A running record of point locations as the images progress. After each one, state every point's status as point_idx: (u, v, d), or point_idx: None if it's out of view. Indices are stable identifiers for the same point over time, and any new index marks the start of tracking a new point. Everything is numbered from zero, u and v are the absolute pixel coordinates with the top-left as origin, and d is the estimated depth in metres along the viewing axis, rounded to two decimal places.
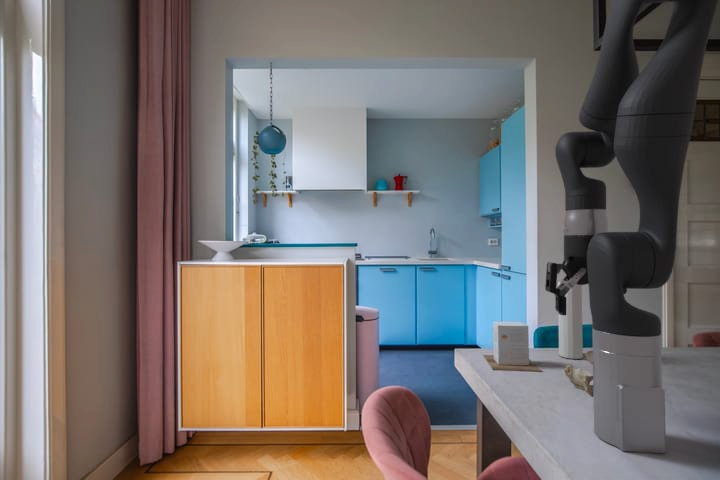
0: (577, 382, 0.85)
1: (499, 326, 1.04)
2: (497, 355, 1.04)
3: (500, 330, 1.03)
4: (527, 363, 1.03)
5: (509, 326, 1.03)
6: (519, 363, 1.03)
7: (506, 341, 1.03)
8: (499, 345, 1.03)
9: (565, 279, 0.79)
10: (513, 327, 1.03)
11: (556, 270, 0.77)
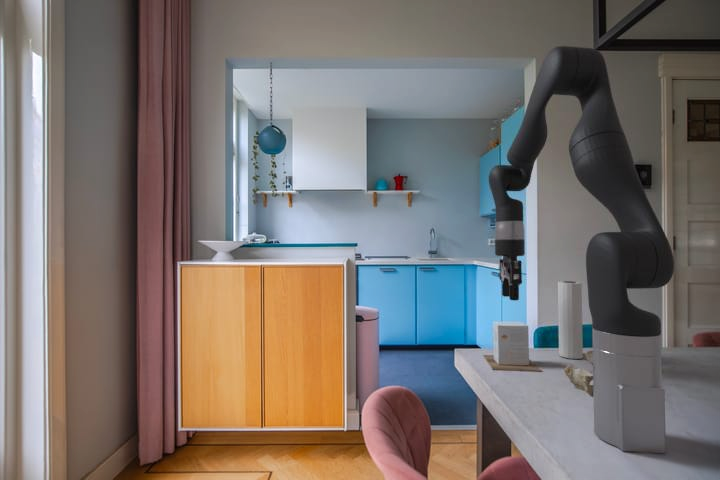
0: (577, 382, 0.85)
1: (499, 326, 1.04)
2: (497, 355, 1.04)
3: (500, 330, 1.03)
4: (527, 363, 1.03)
5: (509, 326, 1.03)
6: (519, 363, 1.03)
7: (506, 341, 1.03)
8: (499, 345, 1.03)
9: None
10: (513, 327, 1.03)
11: None
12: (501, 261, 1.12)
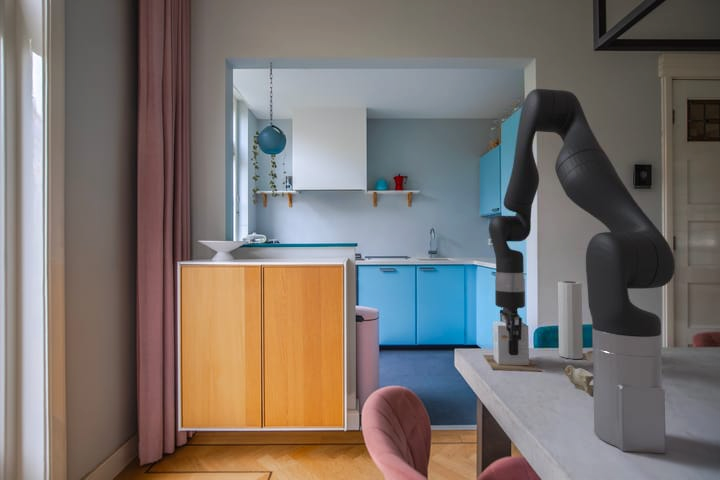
0: (577, 382, 0.85)
1: (499, 326, 1.04)
2: (497, 355, 1.04)
3: (500, 330, 1.03)
4: (527, 363, 1.03)
5: (509, 326, 1.03)
6: (519, 363, 1.03)
7: (506, 341, 1.03)
8: (499, 345, 1.03)
9: None
10: None
11: None
12: (501, 312, 1.12)
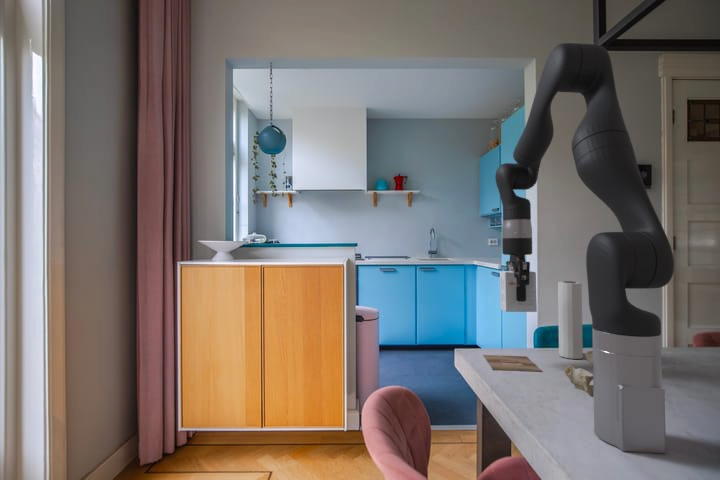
0: (577, 382, 0.85)
1: (506, 273, 1.03)
2: (504, 302, 1.03)
3: (507, 277, 1.03)
4: (535, 310, 1.02)
5: (516, 273, 1.03)
6: (527, 310, 1.02)
7: (514, 287, 1.03)
8: (506, 292, 1.03)
9: None
10: None
11: None
12: (508, 262, 1.11)
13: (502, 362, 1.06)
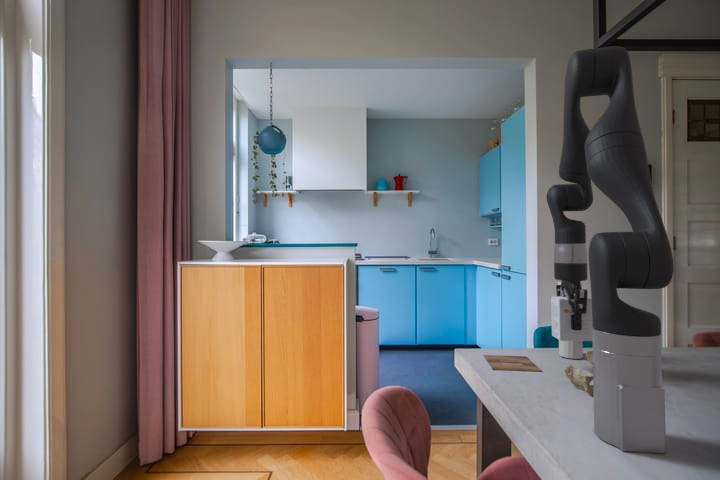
0: (577, 382, 0.85)
1: (561, 300, 0.98)
2: (558, 331, 0.99)
3: (562, 304, 0.98)
4: (591, 339, 0.97)
5: (571, 300, 0.98)
6: (582, 339, 0.97)
7: (569, 315, 0.98)
8: (561, 320, 0.98)
9: None
10: None
11: None
12: (558, 287, 1.06)
13: (502, 362, 1.06)
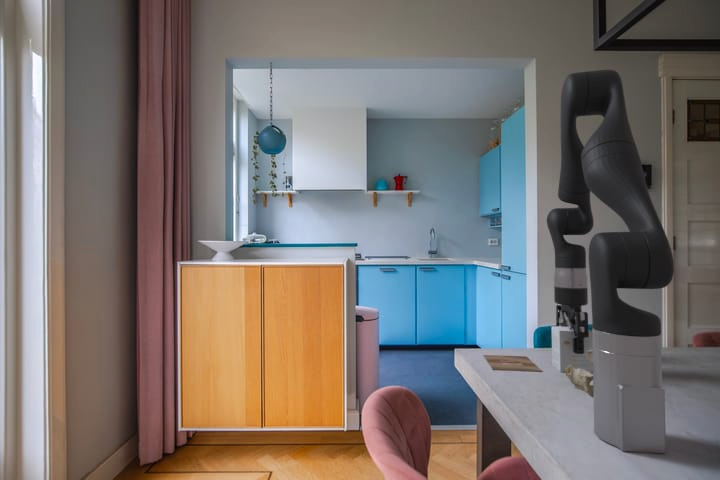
0: (577, 382, 0.85)
1: (561, 331, 0.98)
2: (558, 362, 0.98)
3: (562, 336, 0.98)
4: (591, 371, 0.97)
5: (571, 331, 0.97)
6: None
7: (569, 347, 0.97)
8: (561, 351, 0.98)
9: None
10: None
11: None
12: (558, 307, 1.06)
13: (502, 362, 1.06)
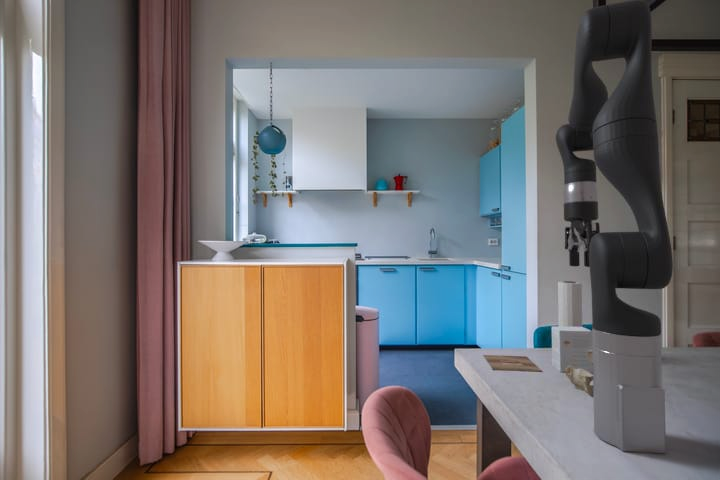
0: (577, 382, 0.85)
1: (561, 331, 0.98)
2: (558, 362, 0.98)
3: (562, 335, 0.98)
4: (591, 371, 0.97)
5: (572, 331, 0.98)
6: None
7: (569, 347, 0.97)
8: (561, 351, 0.98)
9: None
10: (576, 332, 0.97)
11: None
12: (567, 229, 1.04)
13: (502, 362, 1.06)
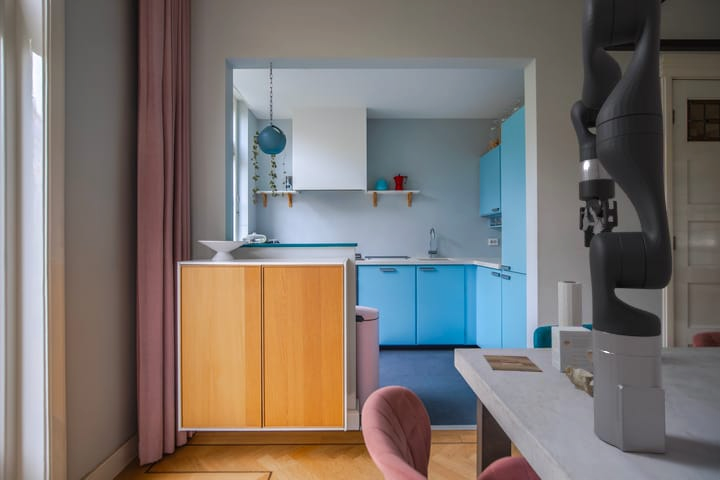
0: (577, 382, 0.85)
1: (561, 331, 0.98)
2: (558, 362, 0.98)
3: (562, 336, 0.98)
4: (591, 371, 0.97)
5: (571, 331, 0.97)
6: None
7: (569, 347, 0.97)
8: (561, 351, 0.98)
9: None
10: (576, 332, 0.97)
11: None
12: (582, 209, 1.00)
13: (502, 362, 1.06)
